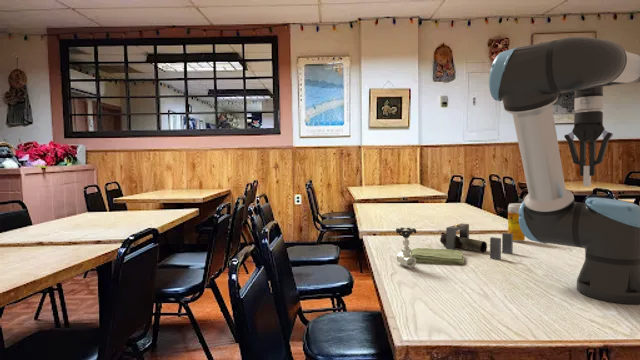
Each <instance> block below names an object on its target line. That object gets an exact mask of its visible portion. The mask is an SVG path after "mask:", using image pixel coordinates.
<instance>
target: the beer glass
mask: <svg viewBox="0 0 640 360" xmlns="http://www.w3.org/2000/svg"><path fill="white" fill-rule="evenodd" d="M520 205H521V203H518V202H515V203H514V202H513V203H512V202H511V203H509V204H508V206H507V233H511V234H513V242H514V243H523V242H524V241H525V240H526V237H525V236H524V234H523V233H522V231H521V228H520V225H519V208H520Z"/></svg>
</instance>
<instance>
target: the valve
mask: <svg viewBox="0 0 640 360" xmlns="http://www.w3.org/2000/svg"><path fill="white" fill-rule="evenodd" d="M395 232H396V234H398V235H399V236H401V237H402V238H404V240H402V245H403V247H402V248H401V249H400V252H399V253H398V254H397V255H396V261H397V262H398V263H400V265H401V266H403V267H405V268H409V269H414V267H416V266H417V263H416V259H415V258H413V257H412V256H411V250H412V248H410V246H409V245H410V240H409V239H408V238H410V236H411V235H412V234H417V229H416V228H411V227H400V228H398V227H396V228H395Z"/></svg>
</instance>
